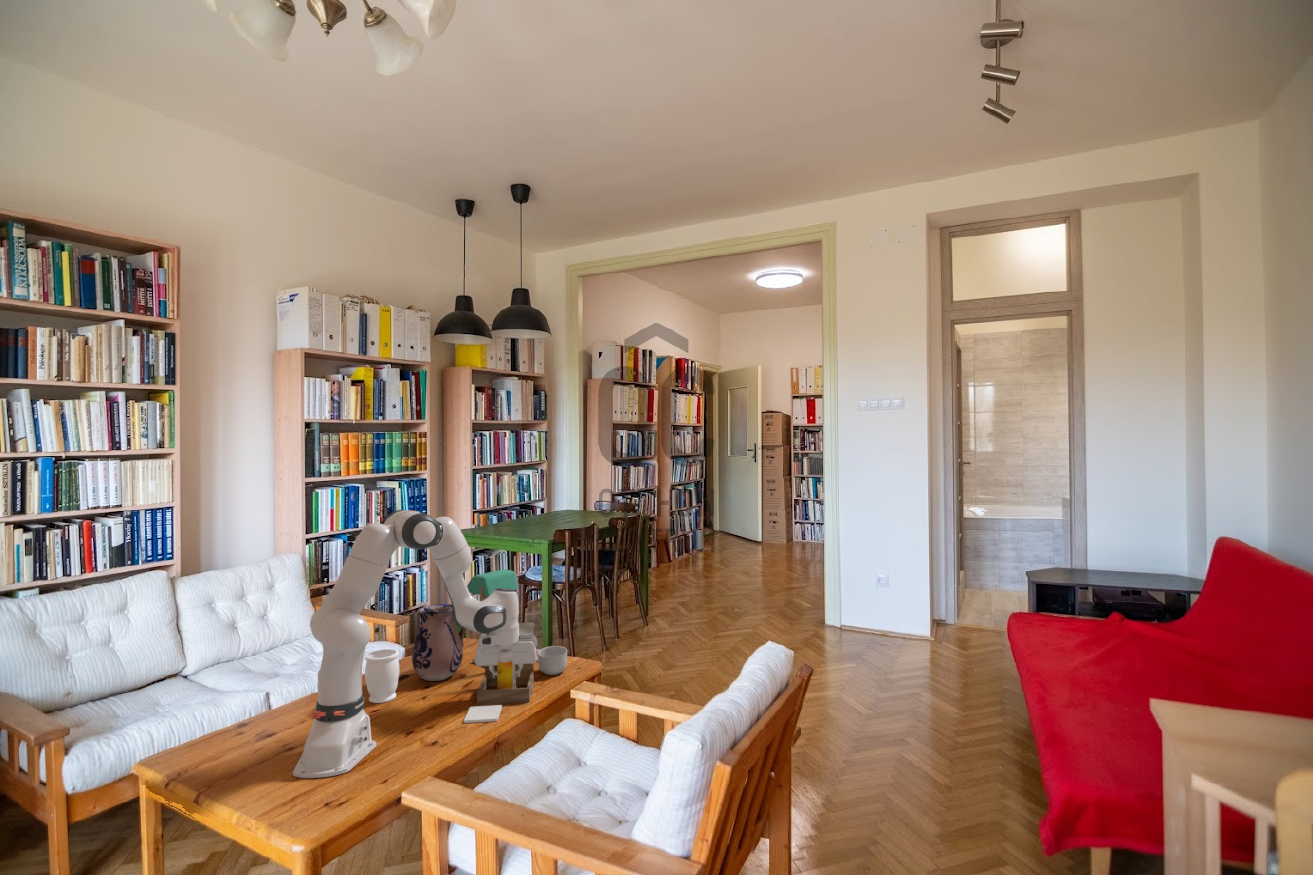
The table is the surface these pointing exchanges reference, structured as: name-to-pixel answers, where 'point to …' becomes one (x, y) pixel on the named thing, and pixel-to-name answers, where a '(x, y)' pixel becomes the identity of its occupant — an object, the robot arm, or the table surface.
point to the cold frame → (525, 679)
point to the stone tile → (483, 714)
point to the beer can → (506, 671)
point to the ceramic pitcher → (437, 644)
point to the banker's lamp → (492, 583)
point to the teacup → (552, 659)
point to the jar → (382, 674)
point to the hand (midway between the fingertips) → (506, 677)
